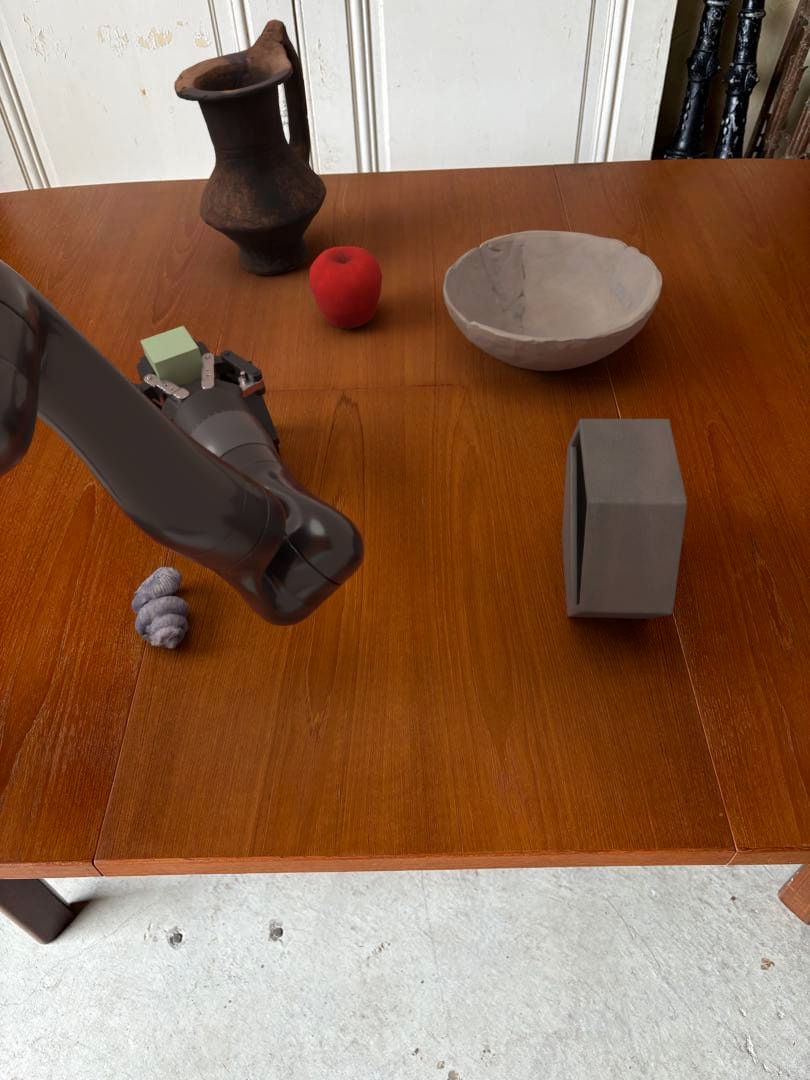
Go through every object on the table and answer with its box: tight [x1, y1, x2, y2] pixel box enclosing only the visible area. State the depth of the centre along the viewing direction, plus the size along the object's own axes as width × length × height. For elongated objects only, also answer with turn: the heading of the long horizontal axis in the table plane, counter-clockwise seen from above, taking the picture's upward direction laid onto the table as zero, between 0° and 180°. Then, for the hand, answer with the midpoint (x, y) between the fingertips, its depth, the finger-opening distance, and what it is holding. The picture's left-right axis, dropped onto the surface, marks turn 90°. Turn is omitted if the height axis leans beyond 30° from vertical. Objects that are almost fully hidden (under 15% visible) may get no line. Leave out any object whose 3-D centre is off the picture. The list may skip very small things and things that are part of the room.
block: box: [140, 325, 203, 386], centre depth 84 cm, size 5×5×9 cm
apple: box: [308, 245, 383, 330], centre depth 110 cm, size 10×10×11 cm
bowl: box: [442, 229, 663, 372], centre depth 104 cm, size 26×26×10 cm
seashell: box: [131, 566, 190, 650], centre depth 79 cm, size 5×5×10 cm
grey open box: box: [561, 418, 688, 620], centre depth 74 cm, size 17×8×21 cm
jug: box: [173, 18, 327, 276], centre depth 115 cm, size 21×18×30 cm
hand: (168, 355), depth 85 cm, fingers closed on block, 4 cm apart
